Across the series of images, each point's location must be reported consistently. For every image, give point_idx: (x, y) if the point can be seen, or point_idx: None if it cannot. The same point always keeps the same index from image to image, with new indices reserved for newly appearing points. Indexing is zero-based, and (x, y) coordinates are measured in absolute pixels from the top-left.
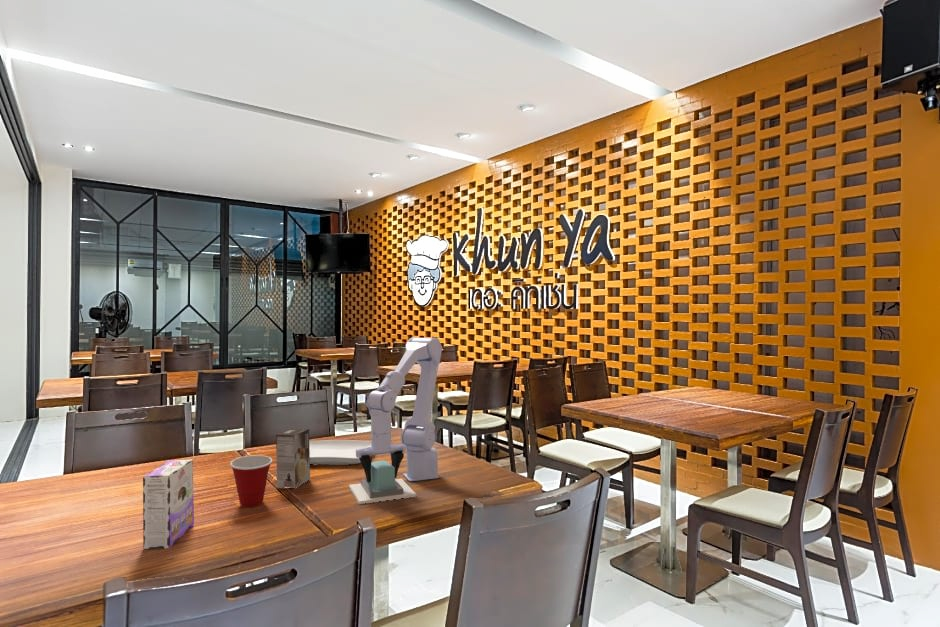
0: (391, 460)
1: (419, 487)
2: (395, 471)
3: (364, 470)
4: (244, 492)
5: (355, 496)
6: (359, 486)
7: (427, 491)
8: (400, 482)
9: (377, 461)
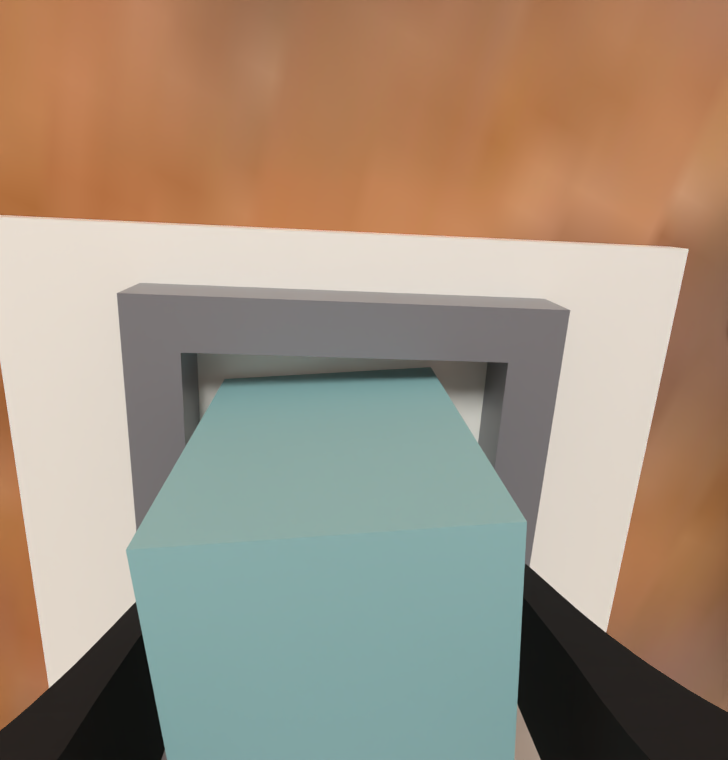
0: (612, 717)
1: (719, 528)
2: (539, 738)
3: (49, 698)
4: None
5: (43, 615)
6: (113, 346)
7: (718, 651)
8: (607, 398)
9: (345, 555)
